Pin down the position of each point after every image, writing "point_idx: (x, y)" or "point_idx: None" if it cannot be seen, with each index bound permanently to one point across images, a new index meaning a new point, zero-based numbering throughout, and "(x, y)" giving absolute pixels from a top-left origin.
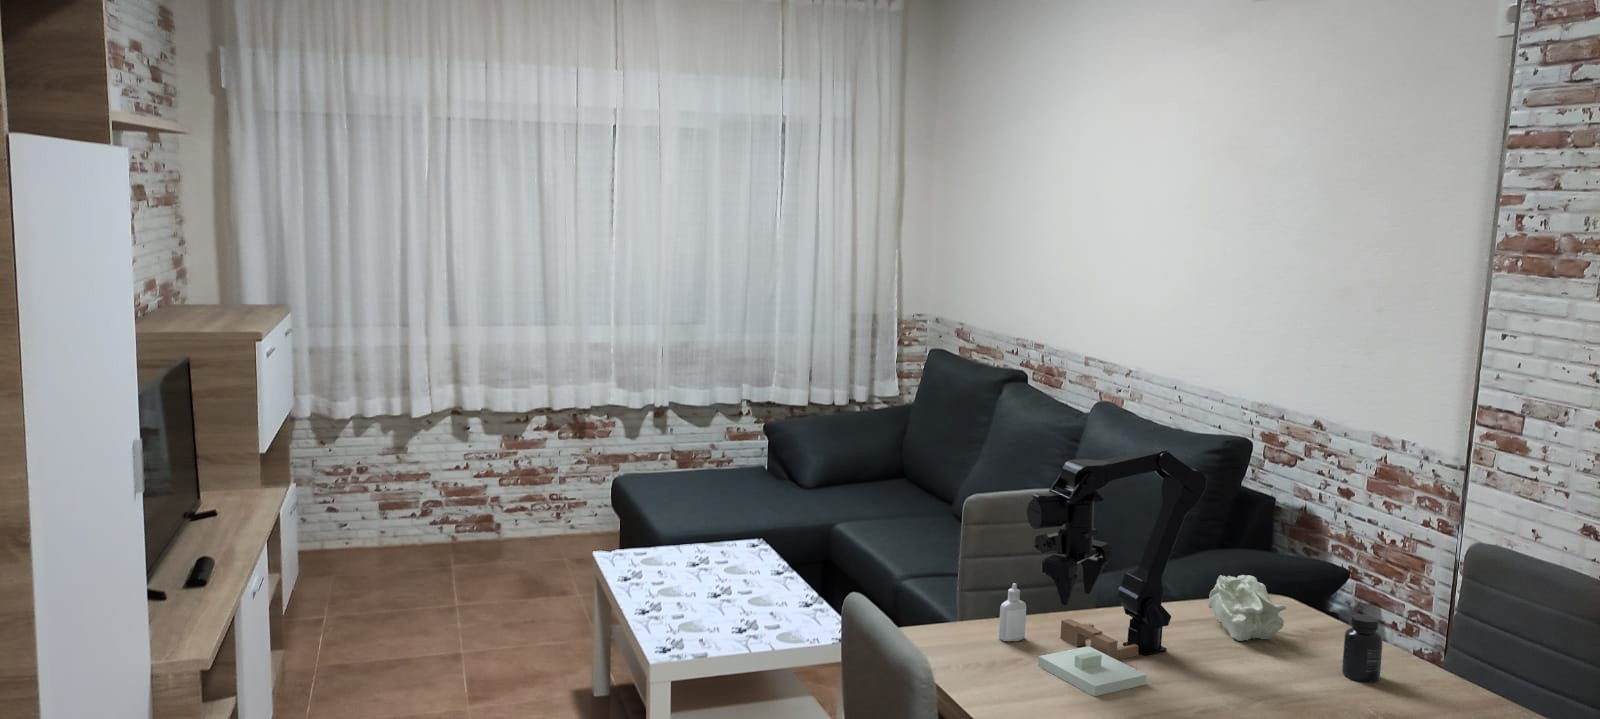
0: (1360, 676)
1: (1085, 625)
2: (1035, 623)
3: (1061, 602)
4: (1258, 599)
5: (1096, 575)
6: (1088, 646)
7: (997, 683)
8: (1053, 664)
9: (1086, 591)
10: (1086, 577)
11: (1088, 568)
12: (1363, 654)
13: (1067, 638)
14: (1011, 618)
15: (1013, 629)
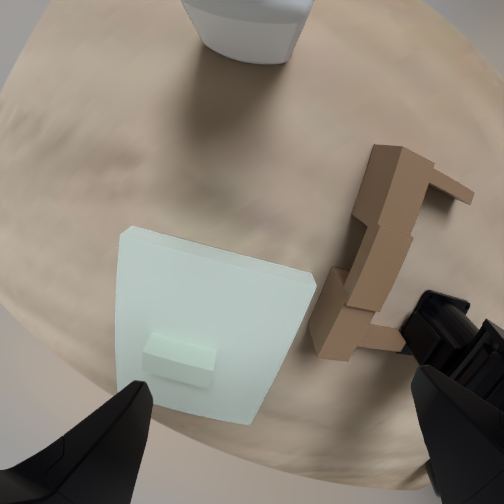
0: (426, 468)
1: (399, 247)
2: (413, 39)
3: (128, 386)
4: None
5: (442, 491)
6: (313, 287)
7: (12, 229)
8: (116, 291)
9: (418, 381)
10: (462, 438)
11: (485, 490)
12: (432, 485)
13: (369, 175)
14: (205, 24)
15: (222, 43)
